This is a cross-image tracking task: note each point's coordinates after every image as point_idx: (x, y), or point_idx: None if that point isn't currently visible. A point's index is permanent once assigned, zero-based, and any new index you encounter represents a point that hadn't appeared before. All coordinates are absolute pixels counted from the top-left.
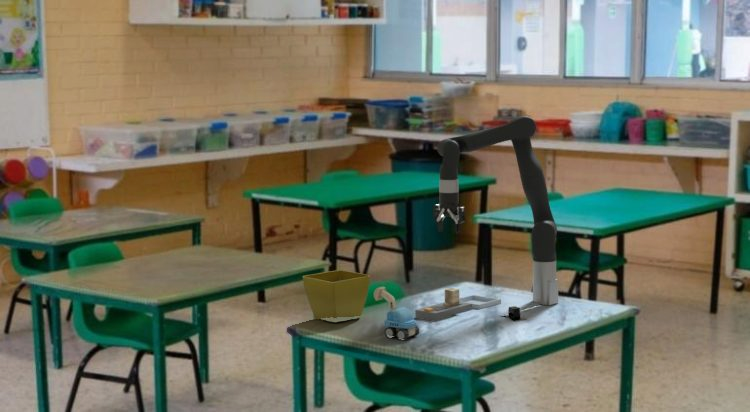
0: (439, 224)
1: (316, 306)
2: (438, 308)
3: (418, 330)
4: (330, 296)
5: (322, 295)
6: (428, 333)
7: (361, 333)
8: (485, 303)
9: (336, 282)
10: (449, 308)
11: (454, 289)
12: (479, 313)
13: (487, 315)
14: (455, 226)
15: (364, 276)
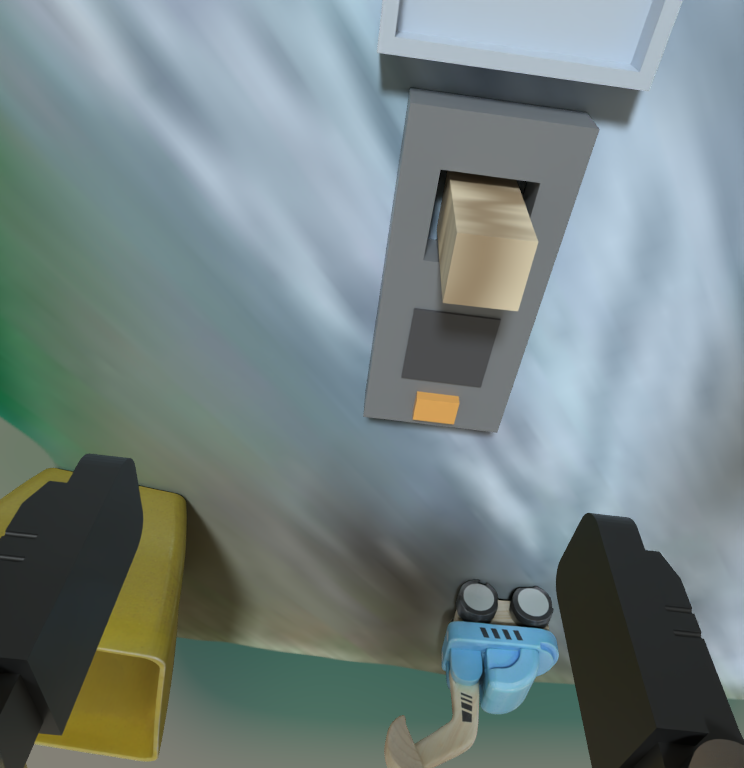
0: (80, 674)
1: None
2: (461, 355)
3: (552, 609)
4: (154, 691)
5: (100, 677)
6: (560, 549)
7: (348, 613)
8: (681, 1)
9: (158, 750)
10: (513, 318)
11: (506, 265)
12: (656, 141)
13: (726, 167)
14: (587, 721)
15: (114, 643)
